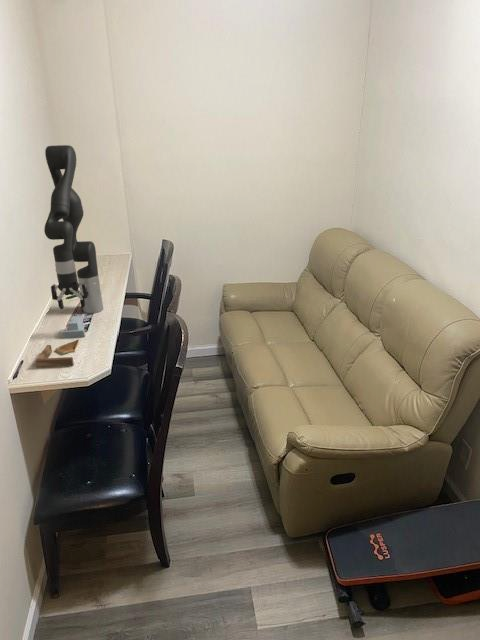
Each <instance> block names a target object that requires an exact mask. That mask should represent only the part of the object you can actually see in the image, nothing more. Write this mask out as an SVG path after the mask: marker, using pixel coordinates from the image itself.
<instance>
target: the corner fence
mask: <svg viewBox="0 0 480 640" xmlns="http://www.w3.org/2000/svg"><path fill="white" fill-rule="evenodd" d="M52 353H53V348H52V345H51V344H47V345H45V347H44V348H43V350H42V351H41V352H40V353H39V355H38V356H37V358H36V359H35V365H36V366H35V367H36V368H37V369H45V368H61V367H63V368H64V367H73V366H74V365H75V364H74V357H73V356H67V357H66V356H65V357H50V356H51V354H52Z"/></svg>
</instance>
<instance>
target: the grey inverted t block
mask: <svg viewBox="0 0 480 640" xmlns="http://www.w3.org/2000/svg"><path fill="white" fill-rule="evenodd" d="M67 329H68V330H67ZM67 329H66V330H64V329H63V330H61V336H62V339H76V338H77V339H79V338H80V339H81V338H86V332H85V326H84V320H83V316H82V315H74V316H71V318H70V319H69V320H68V322H67Z"/></svg>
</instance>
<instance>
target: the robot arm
mask: <svg viewBox="0 0 480 640" xmlns="http://www.w3.org/2000/svg"><path fill="white" fill-rule="evenodd" d="M44 153H45V155H44V156H45V160H46V164H47V167H48V170H49V173H50V177H51V178H52V181H53V185H54V188H53V190H52V192H51V196H50V211H49V213H48V216H47V219H46V221H45V224H44V230H43V231H44V234H45V236H46V238H47V239H48V240H57V241H58V240H63V243H60V244H58V245H55V246H54V247H53V248H52V252H53V257H54V266H55V273H56V278H57V282H58V284H55V283H54V284H52V285H51V286H50V291H51V299H52V300H53V301H57V303H58V304H57V305H58V307H59V309H60V310H63V309H64V308H65V305H64V301H63V297H64V296H68V295H69V296H75V297H78V299H79V302H80V308H81V309H82V310H83V312H84V313H86V314H95V313H99V312H102V311H103V310H104V303H103V297H102V291H101V284H100V279H99V271H98V269H99V268H98V263H97V262H98V261H97V251H96V246H95V243H94V242H93V241H88V240H87V241H78V240H77V232H78V230H79V226H80V224H81V223H82V220H83V219H84V218H83V217H84V209H83V208H84V207H83V205H82V200H81V197H80V196H79V195H78V193H77V192H76V190H74V188H72V187H73V183H74V182H73V181H74V179H75V172H76V167H77V154H76V151H75V149H74V148H73V146H71V145H70V144H68V145H67V144H63V145H62V144H61V145H47V147H46V148H45V150H44ZM62 170H64V171H63V174H62ZM61 220H62V221H61ZM75 263H87V265H85V266H84V267H82V268H79V269H78V270H76V268H77V267H76V264H75ZM57 290H59V291H60V293H59V295H58V292H57Z"/></svg>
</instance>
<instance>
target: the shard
mask: <svg viewBox="0 0 480 640" xmlns="http://www.w3.org/2000/svg"><path fill="white" fill-rule="evenodd" d="M79 341H80V339H79V338H77V339H75V340H74V341H70V342H68V343H65V344H62V345H59V346H58V347H56V348H55V352H57V353H60V354H61V355H66V354H72V353H75V352H76V349H77V347H78V345H79Z"/></svg>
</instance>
